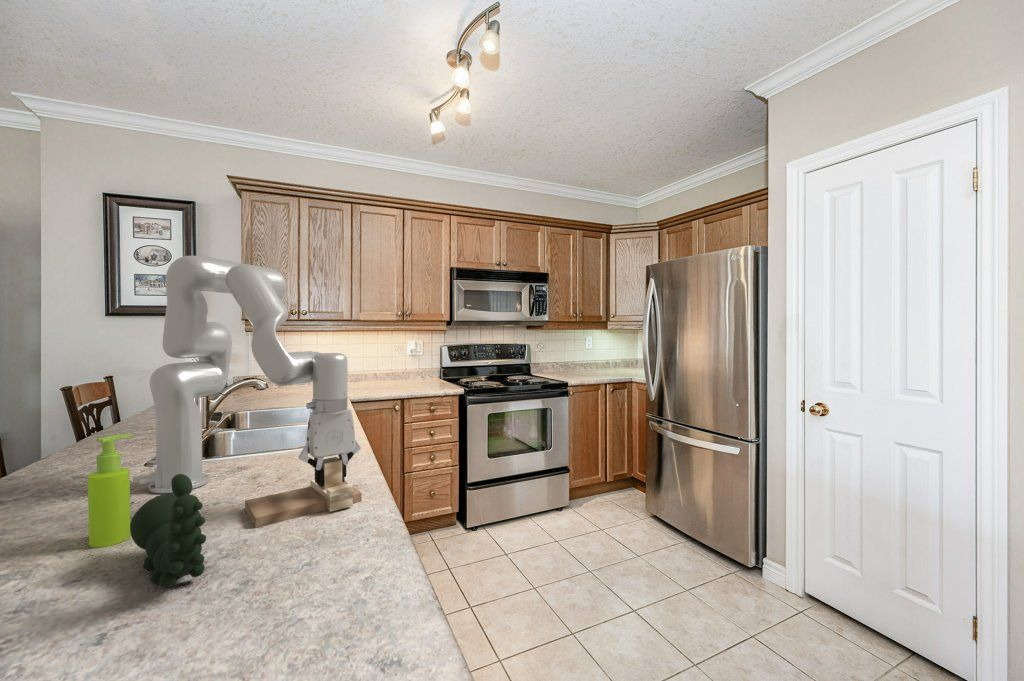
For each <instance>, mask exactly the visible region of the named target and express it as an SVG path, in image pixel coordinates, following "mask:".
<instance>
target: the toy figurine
mask: <svg viewBox="0 0 1024 681" xmlns="http://www.w3.org/2000/svg"><path fill="white" fill-rule="evenodd" d="M171 485H172V491H173V493H163V494H160V495H156V496H155V497H152V498H151V499H149V500H148V501H146V502H145V503H143V505H141V506H140V507H139V508H138V509H137V510H136V512H135V513H134V515H133V516H132V519H130V537H131V539H132V541H133V543H134V544H135V545H136V546H137V547H138V548H140V549H142V550H144V551H145V555H146V557H145V558H144V560H143V563H142V568H143V569H144V570H145V571H146V572H152V573H151V574H150V578H149V581H150V582H151V584H156V585H157V584H158V585H159V586H160V587H162V588H168V587H171V586H172V585H173V584H174V583H175V582H176V579H177V578H179V577H184V576H185V575H188V574H189V575H190V576H191V578H198V577H200V576H201V575H202V574H204V571H205V569H206V566H205V565H204V562H205V555H203V554H202V551H203V549H202V548H203V547H202V545H203V544H204V543H205V542H206V541H207V536H206V535H205V534H204V533H203V534H202V529H201V527H202V526H203V525H204V524H205V522H206V518H205V517H204V516H203V515H202V514H201V512H200V510H201V509H202V508H203V507H204V506H203V505H204V503H202V502H201V501H200V500H199V498H198V497H197V496H196V495H193V494H192V491H193V489H192V487H193V486H192V482H191V480H190V478H189V477H188V476H186V475H184V474H178V475H176V476H174V477H173V478H172V480H171Z"/></svg>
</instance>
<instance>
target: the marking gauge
mask: <svg viewBox="0 0 1024 681" xmlns="http://www.w3.org/2000/svg"><path fill="white" fill-rule="evenodd" d="M322 469H323V470H324V486H323V487H320V486H319V485H318V484H317V483H316V482H315V478H311V479H310V480H309V481H310V486H309V487H312V488H313V489H315V490H316V491H317V492H318V493H319V494H320V495H321V496H322V497H323V498H324V499H325V500H327V509H328V510H327V511H329V512H334V511H339V510H343V509H347V508H351V507H353V505H354V503H353V487H354V486H353V485H352V484H351V483H349V484H345V485H343V484H342V460H341V459H339V457H338V456H331V457H328V458H327V457H326V458H323V463H322ZM351 485H352V486H351Z"/></svg>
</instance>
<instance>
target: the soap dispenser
mask: <svg viewBox="0 0 1024 681" xmlns="http://www.w3.org/2000/svg"><path fill="white" fill-rule="evenodd" d="M135 435H136V434H131V433H116V434H111V435H106V436H102V437H99V438H96V443H101V444H102V452H101V453H100V454H98V455H96V471H94V472H92V473H90V474H88V475H87V499H88V500H87V503H88V504H87V507H88V516H87V517H88V545H89V546H88V547H90V548H94V549H96V548H98V549H99V548H107V547H110V546H114V545H118V544H120V543H122V542H125V541H127V540H128V539H129V538H131V533H130V523H131V496H130V495H131V489H130V488H131V487H130V481H131V480H130V468H127V467H122V464H121V463H122V461H121V460H122V458H121V452H120V451H117V450H115V448H116V447H115V446H116V445H115V440H121V439H126V438H134V437H135Z"/></svg>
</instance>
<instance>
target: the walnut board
mask: <svg viewBox="0 0 1024 681" xmlns="http://www.w3.org/2000/svg"><path fill="white" fill-rule="evenodd" d="M342 484H343V485H345V484H350V483H349V482H347V481H346V480H345V482H342ZM350 485H351V486H353V485H352V484H350ZM362 495H363V494H362V492H361V491H360V490H358V489H357V488H356V487H354V486H353V504H356V503H360V502H363V501H362V498H363V497H362ZM244 511H245V512H246V514H247V515H248V517H249V519H250V521H251V522H252V524H253V526H254V527H255V529H257V528H261V527H265V526H268V525H272V524H277V523H281V522H284V521H289V520H292V519H296V518H301V517H305V516H309V515H313V514H317V513H321V512H325V511H329V510H328V509H327V500H325V499H324V498H323V497H322V496H321V495H320V494H319V493H318V492H317V491H316V490H315V489H313V488H312V487H311V486H306V487H302V488H298V489H294V490H288V491H284V492H278V493H275V494H274V493H273V494H270V495H264V496H260V497H254V498H251V499H245V500H244Z"/></svg>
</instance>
